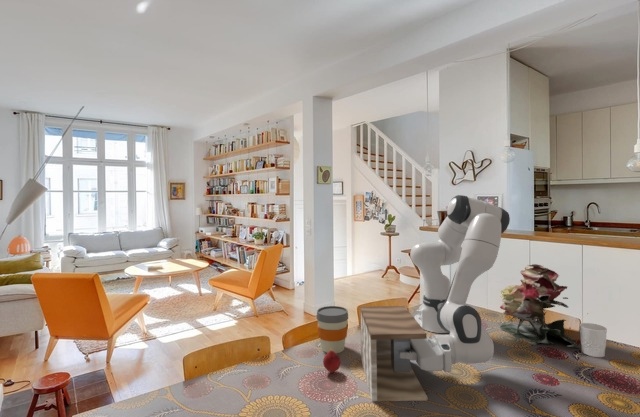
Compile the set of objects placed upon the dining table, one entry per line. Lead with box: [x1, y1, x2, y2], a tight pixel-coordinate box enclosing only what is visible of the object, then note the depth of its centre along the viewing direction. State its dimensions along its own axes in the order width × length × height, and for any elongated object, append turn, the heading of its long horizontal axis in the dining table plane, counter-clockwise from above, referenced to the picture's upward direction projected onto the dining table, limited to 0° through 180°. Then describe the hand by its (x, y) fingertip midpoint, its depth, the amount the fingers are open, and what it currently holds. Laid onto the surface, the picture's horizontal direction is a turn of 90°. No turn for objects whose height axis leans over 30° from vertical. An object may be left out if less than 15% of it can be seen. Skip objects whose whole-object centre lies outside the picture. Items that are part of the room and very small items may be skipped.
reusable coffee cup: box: [316, 305, 349, 354], centre depth 135 cm, size 13×13×15 cm
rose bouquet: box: [499, 263, 589, 350], centre depth 146 cm, size 26×29×30 cm
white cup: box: [579, 322, 608, 358], centre depth 127 cm, size 8×8×10 cm
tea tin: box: [391, 339, 411, 373], centre depth 110 cm, size 5×5×11 cm
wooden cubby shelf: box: [360, 305, 428, 402], centre depth 112 cm, size 26×16×20 cm, turn 0°
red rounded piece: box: [322, 349, 341, 374], centre depth 116 cm, size 6×6×8 cm
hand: (397, 350), depth 110 cm, fingers closed on tea tin, 5 cm apart
